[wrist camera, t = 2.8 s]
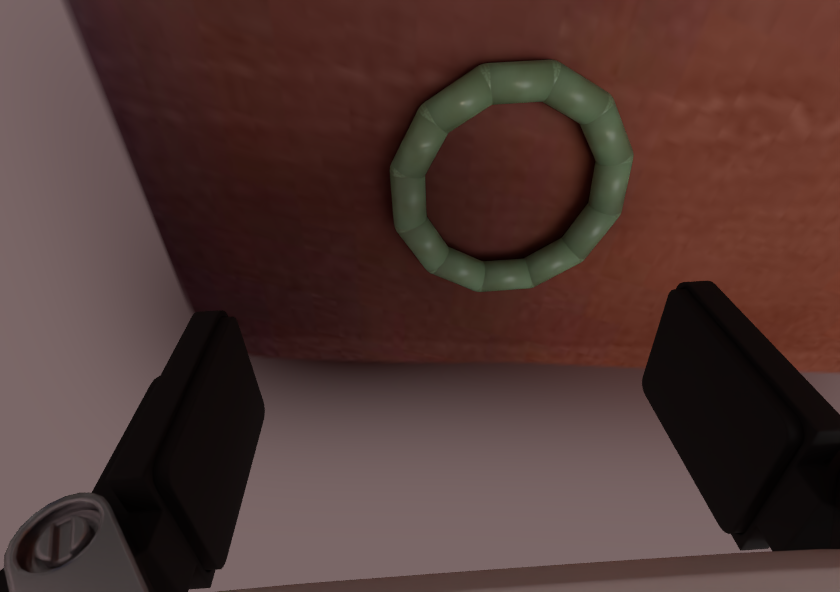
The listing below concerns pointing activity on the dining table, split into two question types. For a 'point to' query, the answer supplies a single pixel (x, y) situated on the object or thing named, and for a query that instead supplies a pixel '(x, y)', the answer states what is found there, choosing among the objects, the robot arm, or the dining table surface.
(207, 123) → the dining table surface
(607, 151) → the ring
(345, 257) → the dining table surface
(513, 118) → the dining table surface
